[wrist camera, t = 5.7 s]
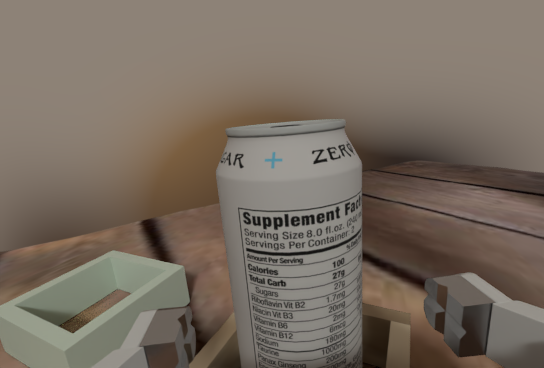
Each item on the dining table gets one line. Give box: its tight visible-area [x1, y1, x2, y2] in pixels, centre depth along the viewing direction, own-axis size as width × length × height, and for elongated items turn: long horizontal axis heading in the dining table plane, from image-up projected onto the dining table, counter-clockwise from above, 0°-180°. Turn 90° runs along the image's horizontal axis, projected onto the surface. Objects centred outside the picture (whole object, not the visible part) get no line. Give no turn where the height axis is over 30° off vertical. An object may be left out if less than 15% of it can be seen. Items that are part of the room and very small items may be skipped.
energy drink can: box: [216, 119, 362, 368], centre depth 13 cm, size 6×6×15 cm
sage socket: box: [0, 250, 190, 368], centre depth 22 cm, size 9×9×4 cm
